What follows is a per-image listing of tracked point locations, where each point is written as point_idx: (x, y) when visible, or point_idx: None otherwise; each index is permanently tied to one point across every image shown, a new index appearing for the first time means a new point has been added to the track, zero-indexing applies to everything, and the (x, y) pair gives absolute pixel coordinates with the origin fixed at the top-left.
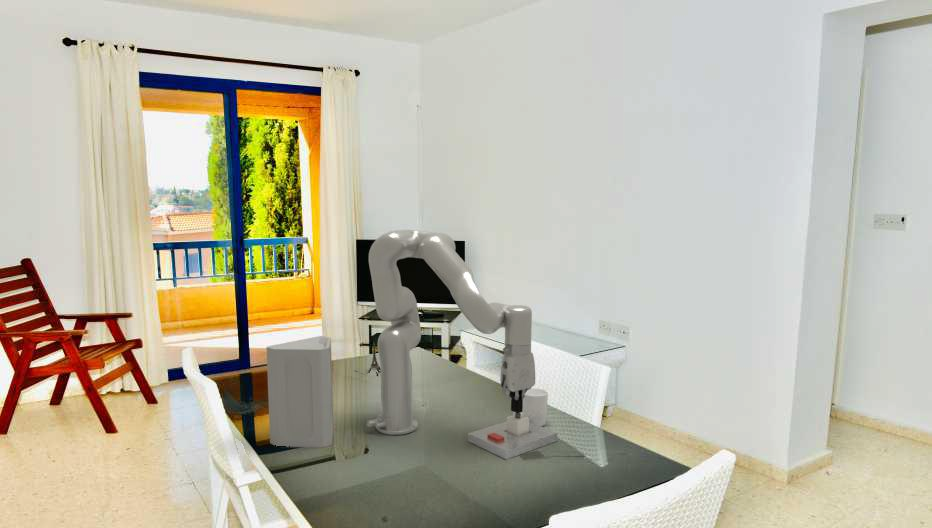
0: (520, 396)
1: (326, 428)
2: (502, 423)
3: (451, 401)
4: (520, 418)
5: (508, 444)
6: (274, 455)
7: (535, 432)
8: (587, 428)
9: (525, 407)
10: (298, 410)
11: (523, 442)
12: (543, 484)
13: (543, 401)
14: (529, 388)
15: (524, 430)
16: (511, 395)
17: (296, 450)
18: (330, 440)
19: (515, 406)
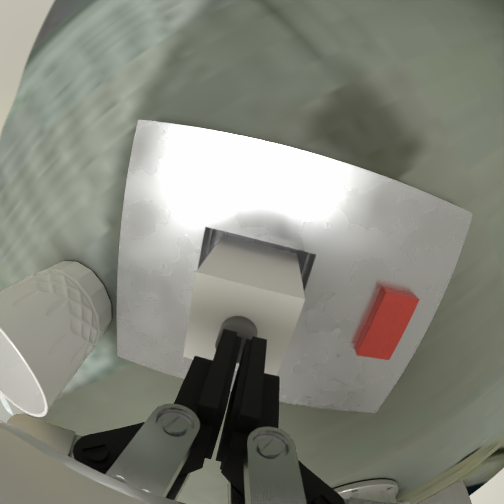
0: (197, 438)
1: (465, 501)
2: None
3: None
4: (242, 312)
5: (417, 241)
6: (488, 477)
7: (202, 210)
8: (16, 126)
9: (78, 359)
10: None
11: (363, 191)
12: (497, 35)
13: (8, 300)
14: (41, 427)
15: (247, 256)
16: (332, 489)
17: (474, 481)
18: (455, 488)
19: (273, 390)
